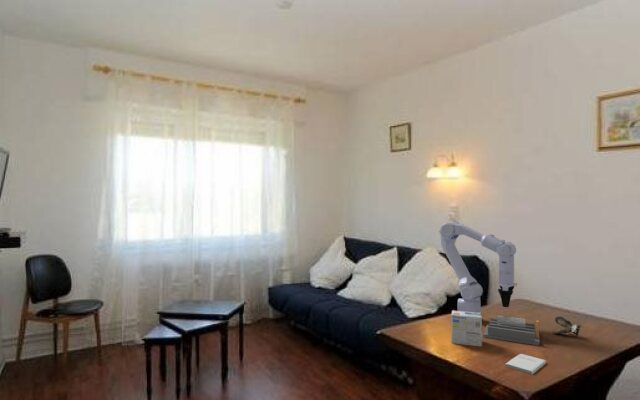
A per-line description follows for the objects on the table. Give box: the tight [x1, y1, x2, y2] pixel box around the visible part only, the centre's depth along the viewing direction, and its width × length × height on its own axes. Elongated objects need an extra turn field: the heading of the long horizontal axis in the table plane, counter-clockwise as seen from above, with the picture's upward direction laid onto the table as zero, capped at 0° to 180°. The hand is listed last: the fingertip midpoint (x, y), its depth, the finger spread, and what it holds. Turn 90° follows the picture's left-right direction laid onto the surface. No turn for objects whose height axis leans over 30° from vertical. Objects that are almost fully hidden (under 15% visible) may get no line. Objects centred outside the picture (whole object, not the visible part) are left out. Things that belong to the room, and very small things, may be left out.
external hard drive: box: [504, 353, 547, 375], centre depth 131 cm, size 2×8×12 cm
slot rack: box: [482, 317, 540, 346], centre depth 158 cm, size 19×14×7 cm
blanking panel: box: [496, 315, 526, 328], centre depth 158 cm, size 10×2×6 cm, turn 63°
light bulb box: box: [450, 309, 483, 347], centre depth 151 cm, size 11×7×11 cm, turn 71°
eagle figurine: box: [551, 315, 582, 338], centre depth 159 cm, size 8×7×9 cm
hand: (506, 304), depth 168 cm, fingers open, 7 cm apart
